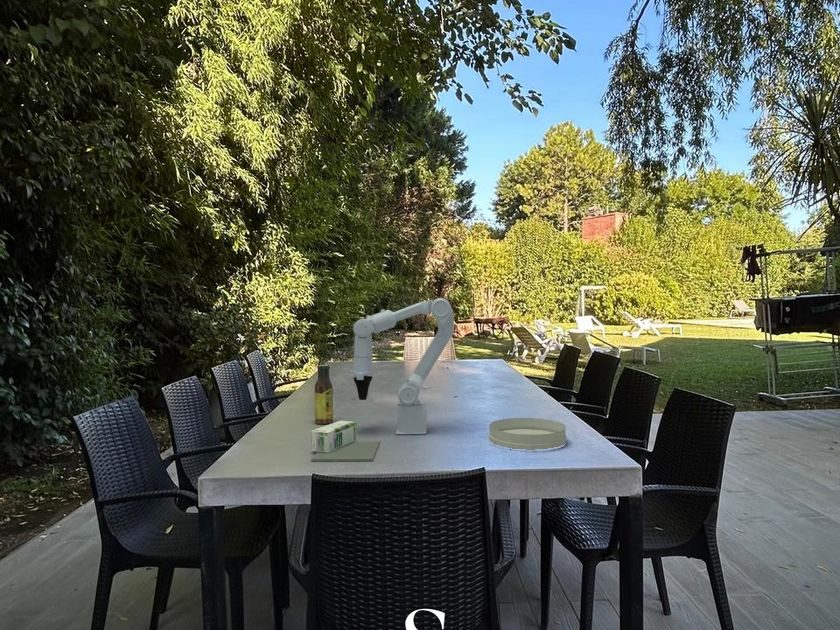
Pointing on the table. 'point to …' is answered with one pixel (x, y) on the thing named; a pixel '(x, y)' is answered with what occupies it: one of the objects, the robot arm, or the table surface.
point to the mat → (350, 453)
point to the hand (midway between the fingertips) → (362, 399)
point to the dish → (527, 433)
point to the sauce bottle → (323, 396)
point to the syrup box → (333, 436)
